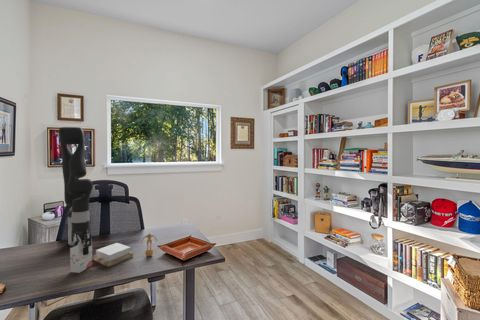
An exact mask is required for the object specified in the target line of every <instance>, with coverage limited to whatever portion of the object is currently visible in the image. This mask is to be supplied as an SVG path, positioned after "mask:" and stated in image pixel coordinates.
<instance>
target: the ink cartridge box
mask: <svg viewBox="0 0 480 320" xmlns="http://www.w3.org/2000/svg"><path fill="white" fill-rule="evenodd" d="M84 241H85V240H84ZM84 244H85V243H84ZM91 244H92V245H91V246H89V254H87V255H83V245H82V244H81V243H80V242H79V243H78V245H77V246H72V247H70V248H69V257H70V258H69V259H70V261H69V262H70V273H75V274H76V273H77V274H81V272H83V271H84V270H87V269H88V268H90V267H92V266H93V242H92V239H91Z"/></svg>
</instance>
